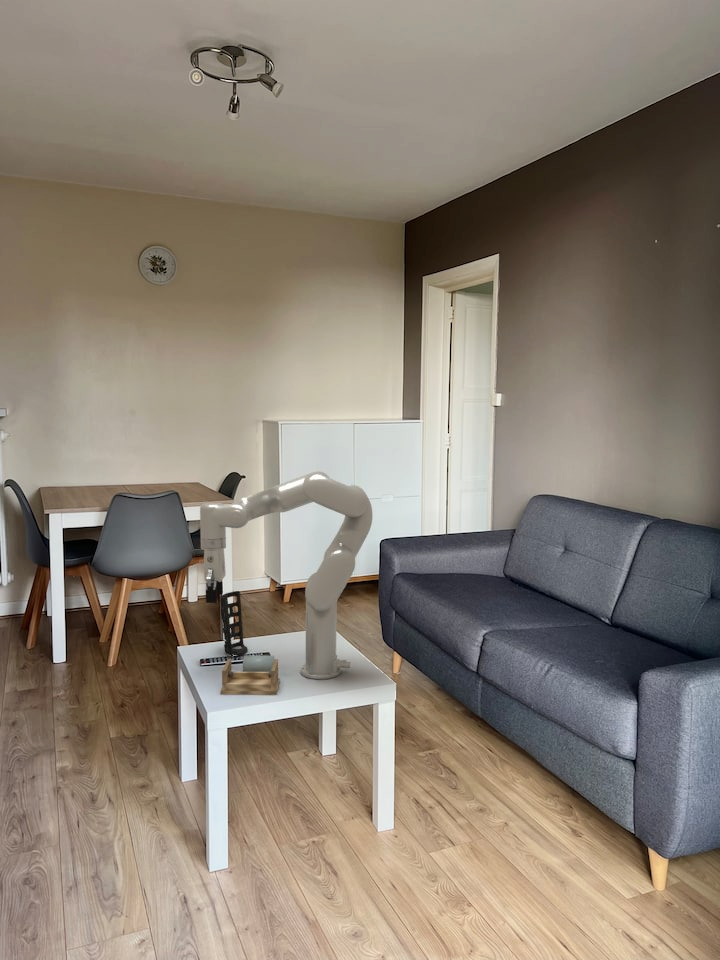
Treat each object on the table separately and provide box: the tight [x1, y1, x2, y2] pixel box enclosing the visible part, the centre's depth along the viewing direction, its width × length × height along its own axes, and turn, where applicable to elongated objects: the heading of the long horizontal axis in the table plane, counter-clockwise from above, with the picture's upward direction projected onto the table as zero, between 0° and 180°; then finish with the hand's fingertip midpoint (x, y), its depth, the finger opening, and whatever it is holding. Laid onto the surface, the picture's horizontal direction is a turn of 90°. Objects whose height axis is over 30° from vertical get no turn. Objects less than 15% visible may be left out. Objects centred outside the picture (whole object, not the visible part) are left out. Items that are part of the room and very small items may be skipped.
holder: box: [219, 590, 248, 657], centre depth 242 cm, size 11×8×20 cm
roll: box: [242, 654, 275, 672], centre depth 223 cm, size 10×6×6 cm, turn 91°
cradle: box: [219, 658, 281, 696], centre depth 212 cm, size 16×10×7 cm, turn 91°
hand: (214, 598), depth 222 cm, fingers open, 9 cm apart
